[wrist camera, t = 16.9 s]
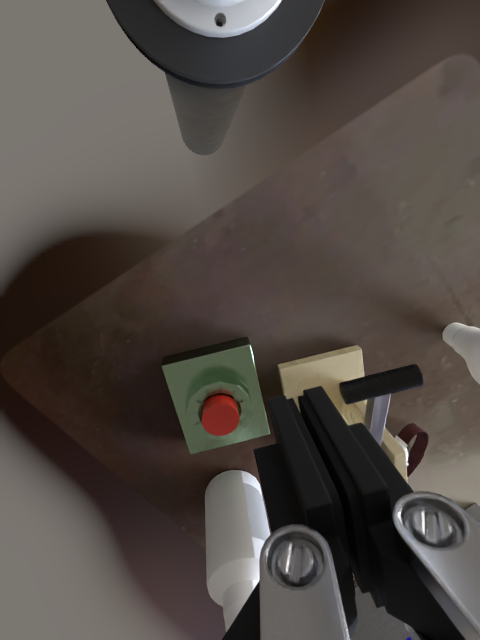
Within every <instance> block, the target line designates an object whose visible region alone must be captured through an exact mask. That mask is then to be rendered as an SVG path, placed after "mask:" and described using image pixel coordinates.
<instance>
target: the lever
mask: <svg viewBox="0 0 480 640" xmlns="http://www.w3.org/2000/svg"><path fill="white" fill-rule="evenodd" d="M423 384H424V377H423V374H422V371H421V370H420V368H419V367H418V366H417V365H415V364H412V365H408V366H404V367H400V368H396V369H392V370H388V371H384V372H380V373H376V374H372V375H368V376H364V377H360V378H356V379H352V380H348V381H344V382H340V384H339V389H340V393H341V396H342V399H343V401H344V402H345V404H347V405H348V404H352V403H356V402H360V401H364V400H367V404H366V412H365V419H364V425H365V426H366V428H367V429H368V430H369V432H370V433H371V435H372V436H373V437H374V439H375V440H376V441H377V443H378V444H379V445H380V447H381V442H382V437H383V432H384V427H385V422H386V417H387V411H388V406H389V401H390V396H391V394H392V393H396V392H400V391H404V390H408V389H412V388H415V387H419V386H422V385H423Z"/></svg>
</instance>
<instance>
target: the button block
mask: <svg viewBox="0 0 480 640" xmlns="http://www.w3.org/2000/svg"><path fill="white" fill-rule="evenodd" d="M161 367H162V370H163V373H164V376H165V379H166V382H167V385H168V388H169V391H170V394H171V397H172V400H173V403H174V406H175V409H176V413H177V416H178V419H179V422H180V425H181V428H182V431H183V434H184V437H185V440H186V443H187V446H188V449H189V452H190V454H194V453H198V452H202V451H206V450H210V449H214V448H218V447H222V446H226V445H230V444H234V443H238V442H242V441H246V440H249V439H253V438H257V437H261V436H265V435H269V434H270V429H269V425H268V420H267V416H266V411H265V407H264V402H263V398H262V393H261V389H260V384H259V380H258V376H257V371H256V367H255V362H254V358H253V353H252V349H251V344H250V342H249V339H248V337H244V338H240V339H236V340H231V341H227V342H223V343H219V344H215V345H211V346H207V347H203V348H199V349H194V350H190V351H186V352H182V353H178V354H174V355H170V356H166V357H163V362H162V366H161ZM218 394H223V395H227V396H230V397H231V398H233V399H234V400H235V402H236V404H237V407H238V412H239V424H238V426H237V428H236V429H235V430H234V431H233V432H231V433H230V434H227V435H224V436H215V435H212V434H210V433H208V432H207V431H206V430H205V429H204V427H203V425H202V406H203V404H204V402H205V401H206V400H207V399H208V398H210V397H211V396H214V395H218Z"/></svg>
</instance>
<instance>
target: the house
mask: <svg viewBox="0 0 480 640" xmlns="http://www.w3.org/2000/svg"><path fill="white" fill-rule="evenodd" d="M465 511H466V512H467V513H468V514H469V515H470V516H471V517H472V518H473V519H475V520H476V521H477V522H478V523H479V524H480V507H479V506H478V505H477V504H476V503H474V504H473V505H471V506H470V507H469V508H467V509H466V510H465ZM355 593H356V596H355V601H356V608H357V614H358V624H357V626H356V629H355V631H354V634H353V637H352V640H411V639H410V637H409V636H408V634H407V631H406V629H405V627H404V625H403V622H402V621H400V620H398V619H397V618H395V617H393V616H392V615H390V614H388V613H387V611H386V609H385V607H384V606H383V607H379V608H376V606H375V603H374V601H373V599H372V596H371V594H370V592H368V593H364V594H362V593H361V591H360V589H359V586H357V587H356V588H355Z"/></svg>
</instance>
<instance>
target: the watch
mask: <svg viewBox="0 0 480 640" xmlns="http://www.w3.org/2000/svg"><path fill="white" fill-rule="evenodd" d="M416 434H417V437H416V440H415V442H414V444H413V446H412V448H411V450H410V452H409V453H408V452H407V446H408V444H409V442H410V441H411V439H412V438H413V437H414V436H415V435H416ZM394 439H395V440H396V441H397V443H398V444H399V445H400V446H401V447H402V449H403V450H404V451H405V452H406V466H407V477H409V476H410V474H411V473H412V472H413V471H414V470H415V468H416V467H417V466H418V464H419V463H420V462H421V459H422V458H423V456H424V452H425V450H426V447H427V444H428V434H427V432H425V431H424V430H423V429H421V428H420V427H419V426H417V425H416V424H414V423H411V424H409V425H407V426H405V427H404V428H403V429H402V430H401V432H400V433H399V435H398V436H396V438H394Z"/></svg>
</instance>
